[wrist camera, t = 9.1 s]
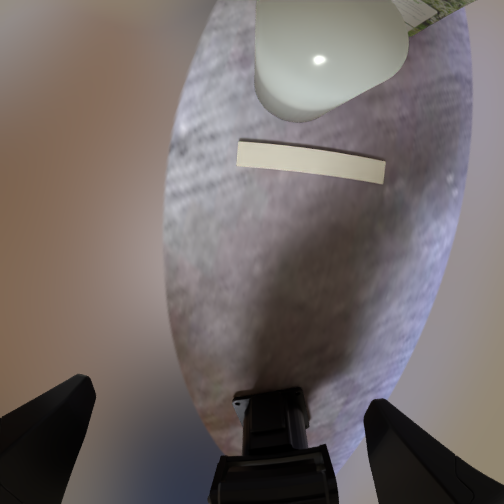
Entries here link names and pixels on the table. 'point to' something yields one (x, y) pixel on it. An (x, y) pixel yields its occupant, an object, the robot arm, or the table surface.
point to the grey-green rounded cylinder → (324, 53)
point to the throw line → (310, 161)
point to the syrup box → (426, 12)
